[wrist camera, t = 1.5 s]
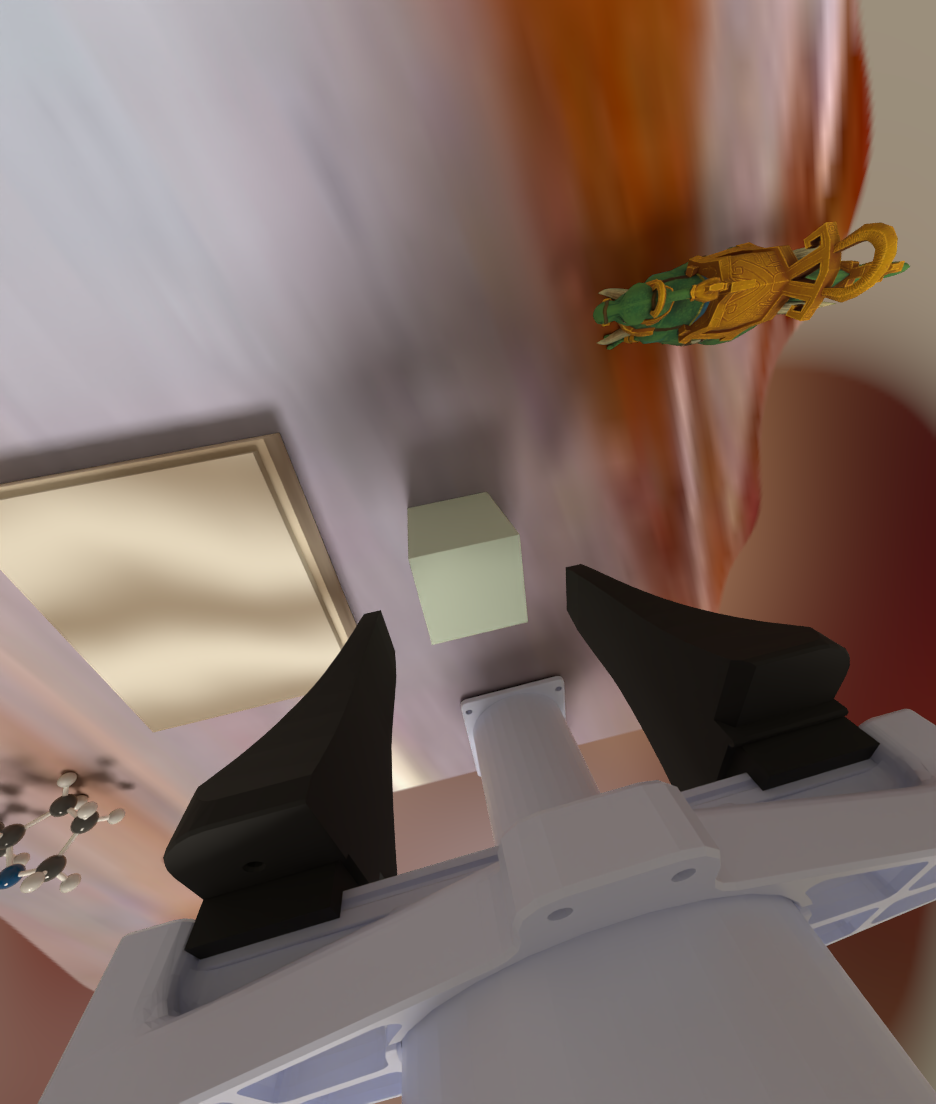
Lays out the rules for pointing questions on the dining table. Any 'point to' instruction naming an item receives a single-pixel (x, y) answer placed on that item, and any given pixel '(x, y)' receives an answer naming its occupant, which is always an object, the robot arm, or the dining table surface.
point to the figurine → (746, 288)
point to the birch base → (182, 577)
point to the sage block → (466, 567)
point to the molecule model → (85, 819)
